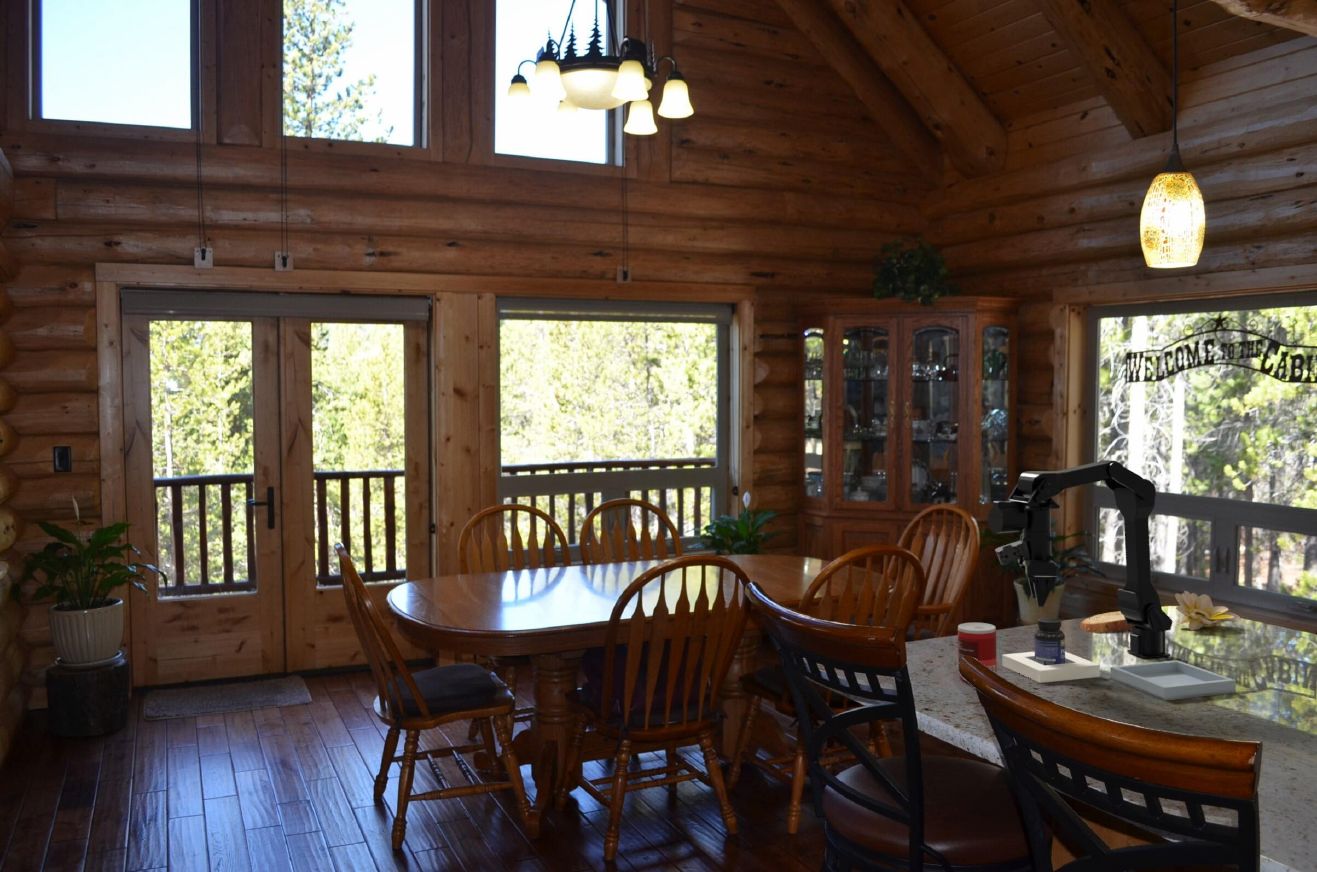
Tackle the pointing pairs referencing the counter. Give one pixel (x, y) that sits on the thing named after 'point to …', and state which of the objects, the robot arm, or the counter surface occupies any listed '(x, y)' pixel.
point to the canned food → (978, 643)
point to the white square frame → (1051, 667)
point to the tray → (1172, 680)
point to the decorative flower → (1202, 611)
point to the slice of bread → (1106, 623)
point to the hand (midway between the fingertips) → (1038, 602)
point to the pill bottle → (1049, 642)
